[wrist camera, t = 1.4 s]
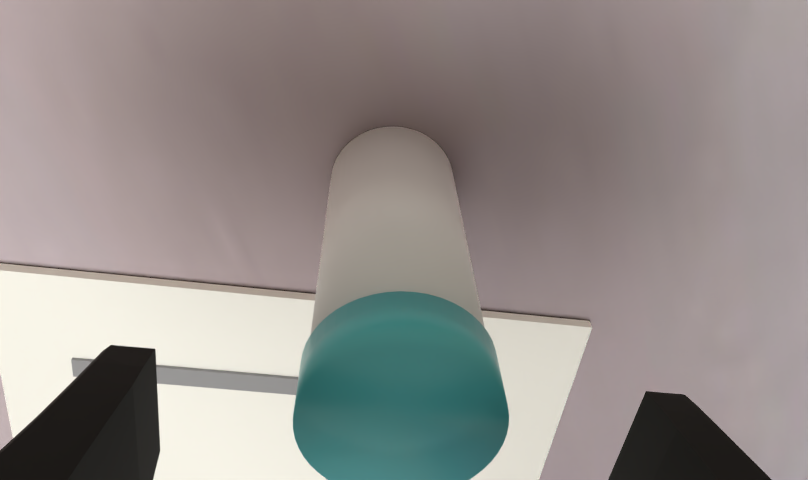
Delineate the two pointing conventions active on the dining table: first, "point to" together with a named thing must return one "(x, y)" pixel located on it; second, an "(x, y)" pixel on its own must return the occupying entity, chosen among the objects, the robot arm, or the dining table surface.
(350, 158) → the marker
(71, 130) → the dining table surface
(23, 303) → the paper
